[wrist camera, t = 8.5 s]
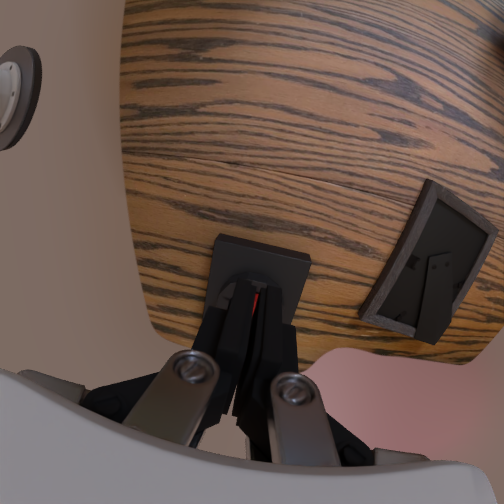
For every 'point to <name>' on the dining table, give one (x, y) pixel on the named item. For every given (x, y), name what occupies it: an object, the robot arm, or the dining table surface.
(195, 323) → the dining table surface
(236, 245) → the switch block
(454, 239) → the picture frame
